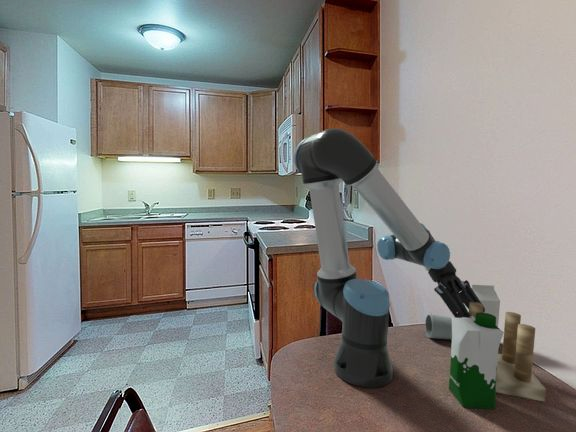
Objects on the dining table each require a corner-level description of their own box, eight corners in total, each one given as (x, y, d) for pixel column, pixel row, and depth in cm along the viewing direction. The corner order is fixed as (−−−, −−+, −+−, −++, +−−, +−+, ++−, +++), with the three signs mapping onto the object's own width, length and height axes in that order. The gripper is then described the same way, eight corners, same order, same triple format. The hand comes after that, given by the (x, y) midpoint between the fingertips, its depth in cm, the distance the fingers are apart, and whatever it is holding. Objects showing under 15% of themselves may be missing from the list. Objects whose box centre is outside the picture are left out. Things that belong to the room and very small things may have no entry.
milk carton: (496, 346, 101) (501, 288, 100) (474, 346, 101) (478, 287, 100) (483, 337, 108) (487, 282, 107) (462, 336, 108) (466, 281, 107)
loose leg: (468, 350, 88) (470, 305, 88) (465, 345, 92) (468, 301, 91) (481, 352, 87) (484, 306, 86) (478, 347, 91) (481, 302, 90)
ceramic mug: (457, 344, 102) (458, 320, 102) (430, 341, 103) (432, 318, 103) (445, 330, 113) (446, 309, 113) (421, 329, 114) (422, 308, 114)
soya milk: (502, 412, 70) (509, 323, 68) (460, 410, 70) (466, 321, 69) (479, 388, 78) (485, 309, 77) (442, 386, 79) (447, 307, 77)
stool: (467, 386, 79) (472, 324, 78) (455, 356, 94) (459, 303, 93) (544, 401, 74) (550, 335, 73) (518, 367, 89) (523, 311, 88)
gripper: (447, 270, 106) (495, 339, 92) (412, 274, 98) (459, 350, 85) (463, 257, 101) (516, 328, 87) (427, 261, 93) (480, 339, 79)
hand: (488, 339), depth 86 cm, fingers closed on loose leg, 3 cm apart
